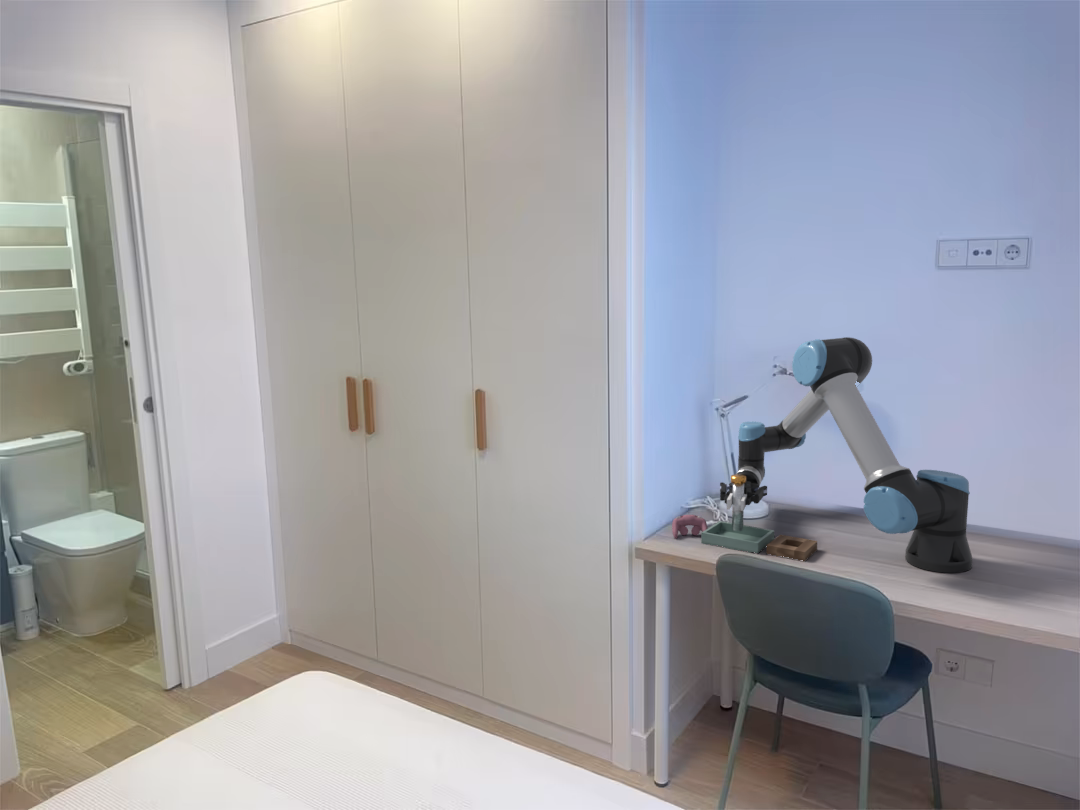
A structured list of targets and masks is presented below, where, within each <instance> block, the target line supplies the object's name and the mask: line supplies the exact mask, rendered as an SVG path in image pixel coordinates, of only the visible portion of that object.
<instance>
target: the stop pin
mask: <svg viewBox="0 0 1080 810" xmlns="http://www.w3.org/2000/svg"><path fill="white" fill-rule="evenodd" d="M730 483H733V493H732V495H733V496H732V506H731V507H732V508H731V509H732V510H731V523H732V530H734V531H743V525H744V511H745V510H744V511H741V499H742V497H743V495H744V483H746V476H745V475H741V474H736V473H735V474H731V475H730Z"/></svg>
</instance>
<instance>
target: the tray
mask: <svg viewBox="0 0 1080 810" xmlns="http://www.w3.org/2000/svg"><path fill="white" fill-rule="evenodd" d="M700 533H701V534H700V535H701V537H700V541H701V543H700V544H703V545H708V544H710V545H709V546H713V545H718V546H717V547H719V546H723V547H722V548H724V547H725V549H730V550H735V551H739V550H740V551H739V552H744V551H748V552H747V553H750V552H755V553H758V554H760V553H761V552H762V551H763V550H764V549H763V548H765V547H766V546H767V544H769V543H770V542H771V541H773V540H774V539H775V529H768V528H762V527H756V526H750V525H745V524H743V531H734V530H732V522H727V521H723V520H722V521H721V520H719V521H717V522H715V523H714V524H713V525H711V526H710V527H708V529H706V530H705V531H703V532H702V531H701V532H700ZM766 548H767V547H766ZM766 548H765V549H766ZM762 549H763V550H762ZM741 550H742V551H741ZM761 550H762V551H761ZM760 551H761V552H760ZM759 552H760V553H759ZM755 553H754V554H755Z"/></svg>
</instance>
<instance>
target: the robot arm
mask: <svg viewBox="0 0 1080 810" xmlns="http://www.w3.org/2000/svg"><path fill="white" fill-rule="evenodd" d="M792 359H793V361H792V363H791V364H792V366H791V368H792V374H793V377H794V378H795V380H796V382H797V383H798V384H799V385H803V386H805V387H810V390H809V392H807V393H806V395H805V396H804V397H803V398H802V399H801V400H800V401H799V402H798V403H797V405H796V406H795V407H794V408H793V409H792V410H791V411H790V412H789V413H788V414H787V415H786V416H785V418H784V419H782V421H780V423H779V424H777V425H772V426H766V425H765V424H764V423H762V422H761V421H745V422H741V423H740V424H739V428H738V429H739V430H738V437H737V439H738V458H737V459H738V461H737V462H738V463H737V464H738V465H737V466H738V467H737V472H736V473H735V474H741V475H745V476H746V483H744V495H743V497H742V499H741V511H745V508H746V507H747V506H750V505H751V504H752V503H754V504H759V503H760V501H761V500H762V499H763V498H764V497H765V496H768V485H763V486H761V484H762V481H763V480H764V478H765V475H766V467H765V453H770V452H775V451H776V452H777V451H782V450H783V451H784V450H793V449H795V448H799V447H802V446H803V445H804V444H805V440H806V438H807V435H806V433H808V431H809V430H811V428H812V427H813V426H814V425H815V424H816V423H818V421H819V420H820V419H821V418H822V417H823V416H824V415H825V414H826V413H827V412H828V411H829V412H830V414H831V415H832V418H833V420H834V422H835V423H836V425H837V427H838V429H839V432H840V433H841V435H842V437H843V439H844V440H845V442H846V444H847V446H848V448H849V451H850V453H852V455H853V457H854V459H855V461H856V463H857V465H858V466H859V469H860V471H861V473H862V475H863V476H864V479H865V480H866V481H865V485H864V487H863V490H864V491H865V496H864V497H863V503H864V505H863V511H864V514H865V515H866V518H867V519H868V521H869V522H870V523H871V524H872V526H873V527H875V529H877V530H878V531H880V532H882V533H885V534H890V535H896V534H908V533H910V532H912V535H911V536H910V539H909V541H908V543H907V546H906V549H905V555H904V557H905V561H906V562H907V563H908V564H910V565H911V566H914V567H916V568H919V569H922V570H924V571H925V570H927V571H931V572H936V573H944V574H945V573H954V574H956V573H963V572H966V571H969V570H971V569H972V567H973V555H972V552H971V549H970V545H969V542H968V538H967V527H968V526H967V523H968V511H969V496H970V484H969V479H968V478H966V477H965V476H963V475H962V474H961V475H960V474H958V473H954V472H949V471H943V470H937V469H920V470H918V471H917V472H916V473H917V474H916V476H914V474H913V473H912V470H911V469H910V468H908V467H906V466H902V465H901V464H900V463H899V460H898V459H897V457H896V455H895V453H894V452H893V450H892V449H891V446H890V445H889V442H888V441H887V439H886V438H885V435H884V434H883V432H882V430H881V428H880V426H879V425H878V423H877V421H876V419H875V418H874V416H873V414H872V412H871V410H870V408H869V407H868V405H867V403H866V401H865V400H864V398H863V396H862V393H861V392H860V390H859V388H858V386H857V387H856V385H855V383H856V381H857V382H859V383H860V384H861V383H862V382H863V381H864V380H865V379H866V378H867V376H868V375H869V374H870V371H871V369H872V365H873V356H872V351H871V350H870V348H869V346H867V344H865V342H863V341H862V340H860V339H858V338H854V337H850V336H847V337H839V338H827V339H820V338H819V339H814V340H809V341H805V342H803V343H801V344H800V345H799V346H798V347H797V348H796V350H795V352H794V354H793V357H792ZM915 477H916V478H915ZM719 493H720V494H719V500H720V501H723V502H724V504H726V510H729V511H730V510H731V509H732V508H731V507H732V496H733V495H732V493H733V483H731V482H730V483H729V484H728V483H725V482H723V481H722V482H720V483H719Z"/></svg>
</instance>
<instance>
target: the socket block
mask: <svg viewBox="0 0 1080 810" xmlns="http://www.w3.org/2000/svg"><path fill="white" fill-rule="evenodd" d="M817 551H818V540H814V539H808V538H803V537H798V536H797V537H796V536H791V535H786V534H779V535H777V536H776V537H774V540H773V541H771V542H770V543H769V544H767V547H766V553H767V554H771V555H770V556H773V555H776V556H775V557H778V556H782V557H781V558H783V556H784V557H789V558H793V559H798V560H797V561H799V560H803V561H802V562H804V561H805V560H806V559H807V558H808V559H809V558H810V557H812V555H814V554H815V553H816V552H817ZM766 553H765V554H766ZM767 554H766V555H767ZM793 559H792V560H793ZM808 559H807V560H808ZM807 560H806V561H807ZM806 561H805V562H806Z"/></svg>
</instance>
